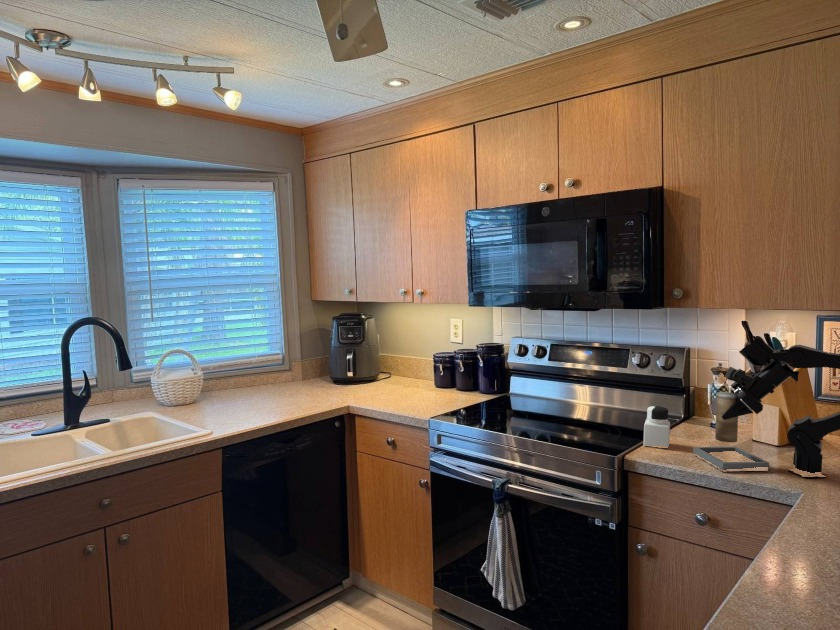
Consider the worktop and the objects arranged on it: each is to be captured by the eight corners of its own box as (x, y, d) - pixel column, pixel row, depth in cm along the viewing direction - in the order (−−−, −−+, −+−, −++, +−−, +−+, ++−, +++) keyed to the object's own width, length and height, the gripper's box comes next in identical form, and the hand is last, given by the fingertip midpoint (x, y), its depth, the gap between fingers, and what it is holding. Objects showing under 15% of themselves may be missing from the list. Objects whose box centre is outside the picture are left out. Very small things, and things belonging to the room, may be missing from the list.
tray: (768, 471, 161) (769, 462, 161) (722, 472, 160) (723, 463, 160) (735, 454, 176) (735, 446, 176) (693, 455, 175) (693, 446, 175)
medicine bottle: (669, 443, 186) (670, 406, 186) (668, 449, 180) (670, 410, 179) (645, 440, 189) (646, 403, 189) (643, 446, 183) (644, 408, 182)
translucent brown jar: (741, 442, 165) (743, 395, 164) (722, 442, 164) (724, 396, 163) (729, 436, 170) (731, 391, 169) (711, 437, 170) (712, 392, 169)
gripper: (740, 353, 173) (697, 388, 178) (750, 362, 156) (702, 401, 160) (770, 382, 171) (725, 417, 175) (783, 394, 153) (734, 432, 158)
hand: (721, 416), depth 167 cm, fingers closed on translucent brown jar, 5 cm apart
